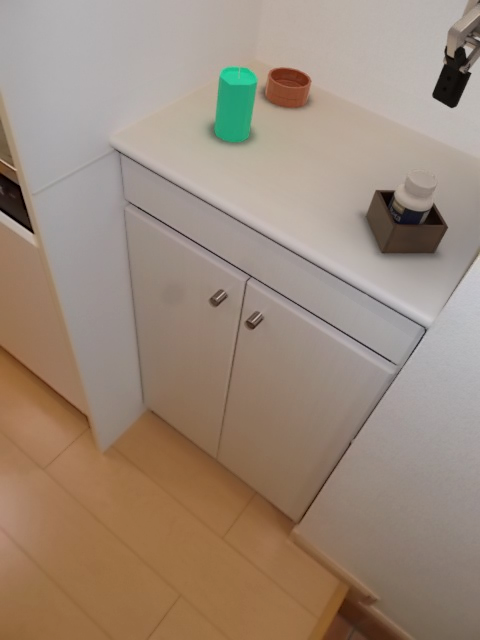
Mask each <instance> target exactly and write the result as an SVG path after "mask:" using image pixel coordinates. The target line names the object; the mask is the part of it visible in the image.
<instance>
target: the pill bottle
mask: <svg viewBox="0 0 480 640" xmlns="http://www.w3.org/2000/svg"><path fill="white" fill-rule="evenodd" d="M437 186H438V179H437V178H436V176H435V175H433V174H432V173H431V172H429V171H426V170H422V169H412V170H410V171H409V172H408V173H407V176H406V178H405V180H404V182H403V183H401V184H399V185H398V186H397V187H396V188H395V189H394V190H395V192H394V195H393V197H392V199H391V202H390V204H389V206H388V210H389V212H390V214H391V216H392V218H393V220H394V222H395V224H396V225H423V223H424V221H425V219H426V217H427V215H428V213H429V211H430V209H431V208H432V205H433V203H435V196H434V192H435V190H436V188H437Z"/></svg>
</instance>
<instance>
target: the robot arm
mask: <svg viewBox="0 0 480 640" xmlns="http://www.w3.org/2000/svg"><path fill="white" fill-rule="evenodd" d="M477 38H478V39H477ZM479 39H480V0H467V2H466V5H465V8H464V10H463V13H462V15H461V18H459V20H457V21H456V22H455V23H454V24H452V26H450V28H449V29H448V31H447V38H446V45H445V47H444V51H443V53H444V57H443V59H442V63H443V65H442V68H441V71H440V72H439V75H438V78H437V80H436V83H435V86H434V88H433V91H432V93H431V96H432V97H431V98H432V99H434V100H436V101H438V102H440V103H441V104H443V105H445V106H446V107H448V108H450V109H454V108H456V107H457V106H458V105H459V103H460V100H461V98H462V96H463V94H464V92H465V89H466V87H467V85H468V83H469V81H470V78H471V76H472V72H471V71H470V70H471V69H472V67H473V66H474V64H475V63H476V62H477V61H478V59H480V40H479ZM465 47H467V48H469V49H471V50H472V51H470V53H469V55H468V56H467V52H466V48H465Z"/></svg>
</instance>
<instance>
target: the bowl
mask: <svg viewBox="0 0 480 640" xmlns="http://www.w3.org/2000/svg"><path fill="white" fill-rule="evenodd" d="M311 86H312V78H311V77H310V75H308V74H307V73H305V72H304V71H301V70H300V69H298V68H297V69H296V68H292V67H286V66H285V67H284V66H283V67H275V68H273V69H270V70H269V71H268V74H267V78H266V84H265V90H264V96H265V98H266V99H267V100H268V101H269V102H270V103H272V104H273V105H276V106H277V107H278V106H279V107H282V108H288V109H296V108H301V107H304V106H305V105H306V104H307V102H308V99H309V95H310V91H311Z"/></svg>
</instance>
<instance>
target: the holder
mask: <svg viewBox="0 0 480 640" xmlns="http://www.w3.org/2000/svg"><path fill="white" fill-rule="evenodd" d="M395 190H396V189H394V190H393V189H375V191H374V194H373V196H372V199H371V200H370V204H369V205H368V209H367V211H366V214H365V219H366V221H367V223H368V226H369V228H370V230H371V232H372V234H373V237H374V239H375V241H376V243H377V246H378V248H379V251H380V253H381V254H435V252H436V251H437V249H438V247H439V246H440V244H441V242H442V240H443V239H444V236H445V235H446V233H447V231H448V229H449V225H448V224H447V222H446V220H445V219H444V217H443V215H442V214H441V212H440V210H439V209H438V207H437V205H436V204H435V202H434V203H433V205H432V208H431V209H430V211H429V213H428V215H427V217H426V219H425V221H424V223H423V225H396V224H395V222H394V220H393V218H392V216H391V214H390V212H389V210H388V206H389V204H390V202H391V199H392V197H393V195H394V192H395Z"/></svg>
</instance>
